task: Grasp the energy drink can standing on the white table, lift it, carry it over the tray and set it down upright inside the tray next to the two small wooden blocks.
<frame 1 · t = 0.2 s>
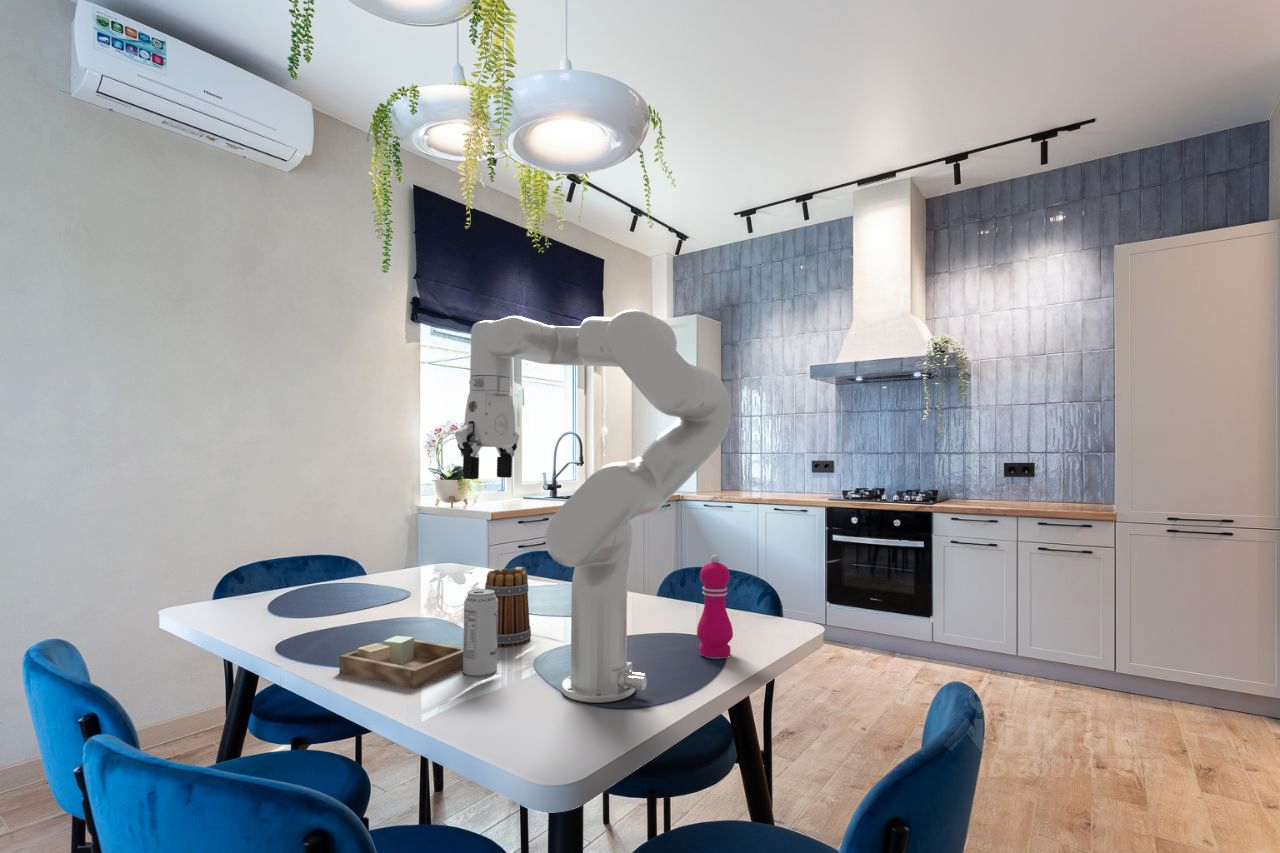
hand: (487, 478, 125), 36 cm above the table, tool pointing down, fingers open, 9 cm apart
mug: (510, 640, 143), on the table
beech block: (373, 669, 121), point 1 cm above the table, touching tray
sage block: (398, 660, 126), point 1 cm above the table, touching tray
energy drink can: (479, 676, 120), on the table
tray: (405, 672, 121), on the table
pepper mill: (714, 655, 133), on the table
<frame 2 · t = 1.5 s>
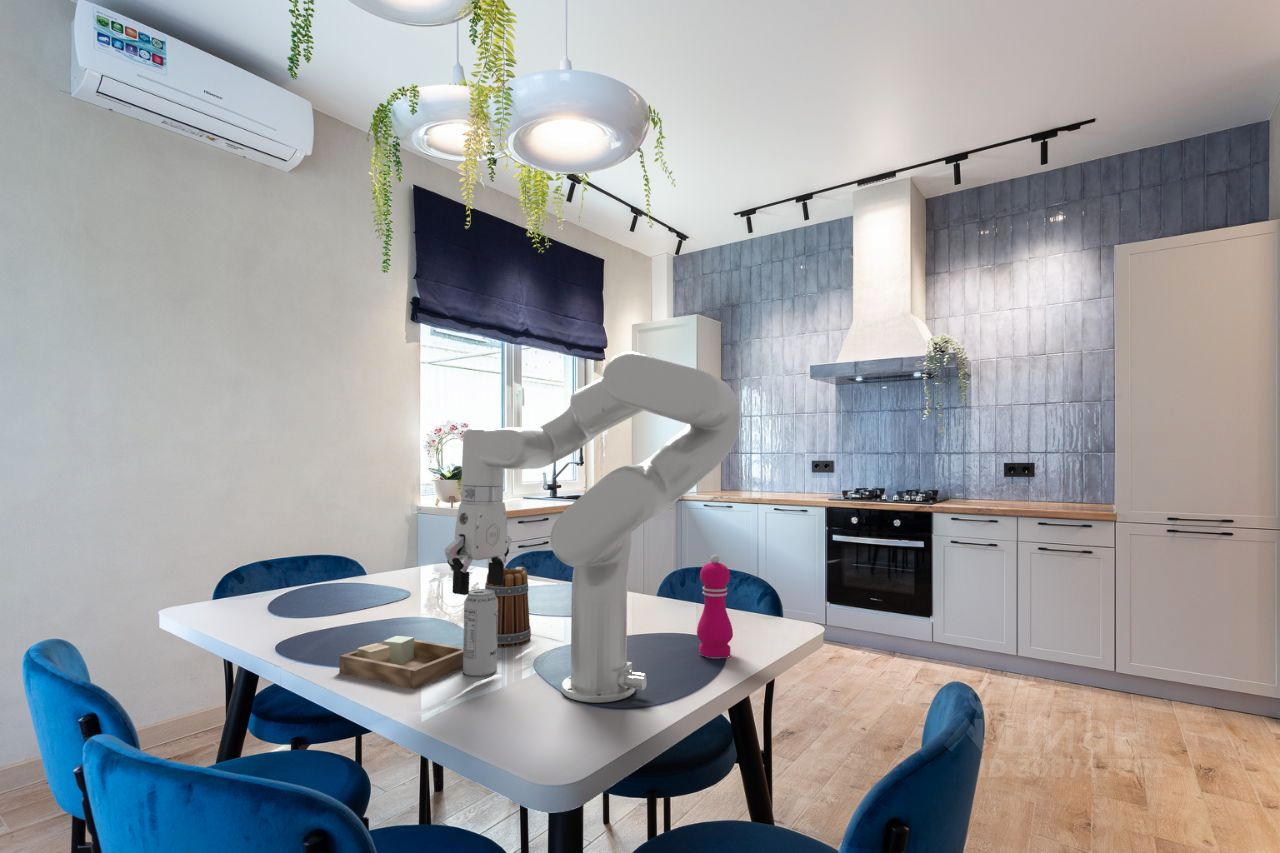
hand: (478, 589, 121), 15 cm above the table, tool pointing down, fingers open, 9 cm apart
nothing on the table moved.
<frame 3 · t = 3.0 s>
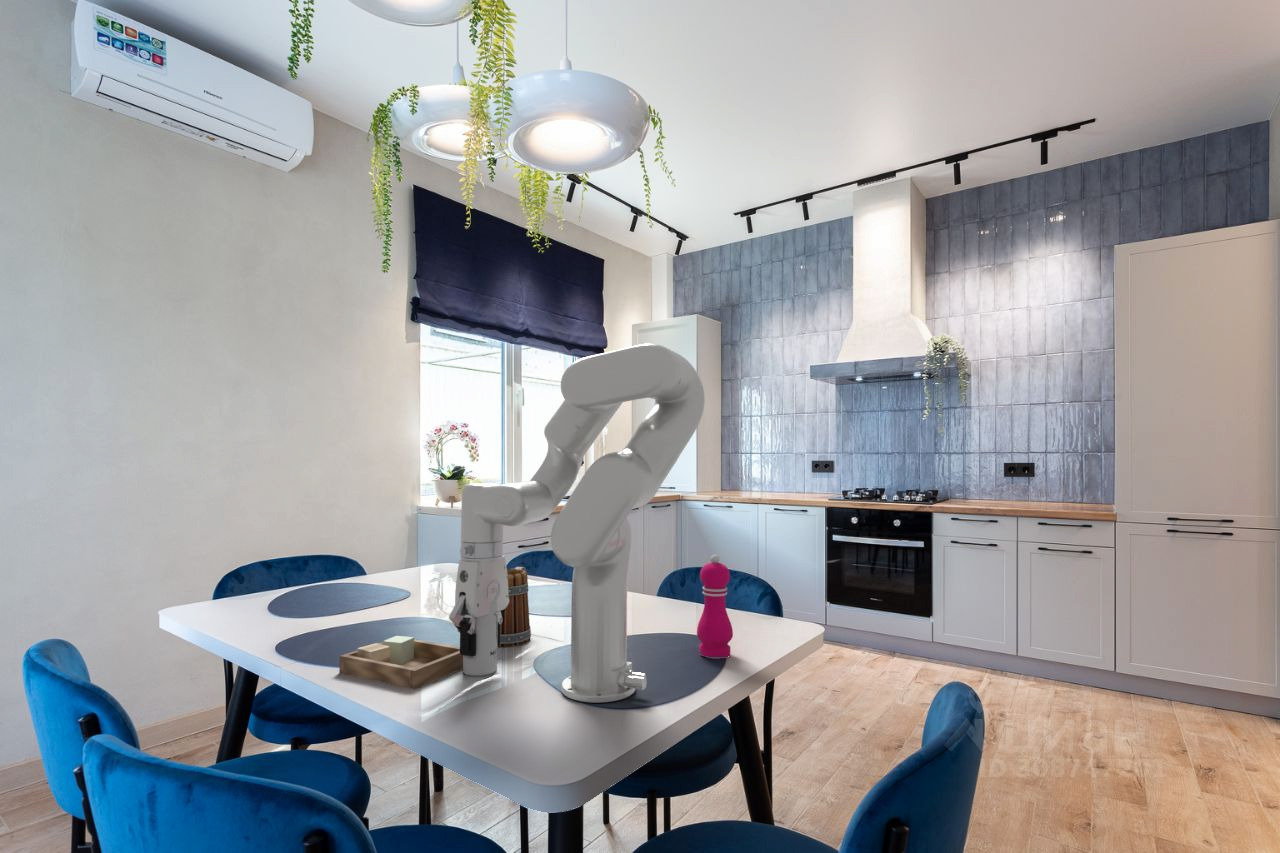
hand: (480, 649, 120), 5 cm above the table, tool pointing down, fingers closed on energy drink can, 6 cm apart
energy drink can: (479, 676, 120), on the table, touching gripper
everything else where it was.
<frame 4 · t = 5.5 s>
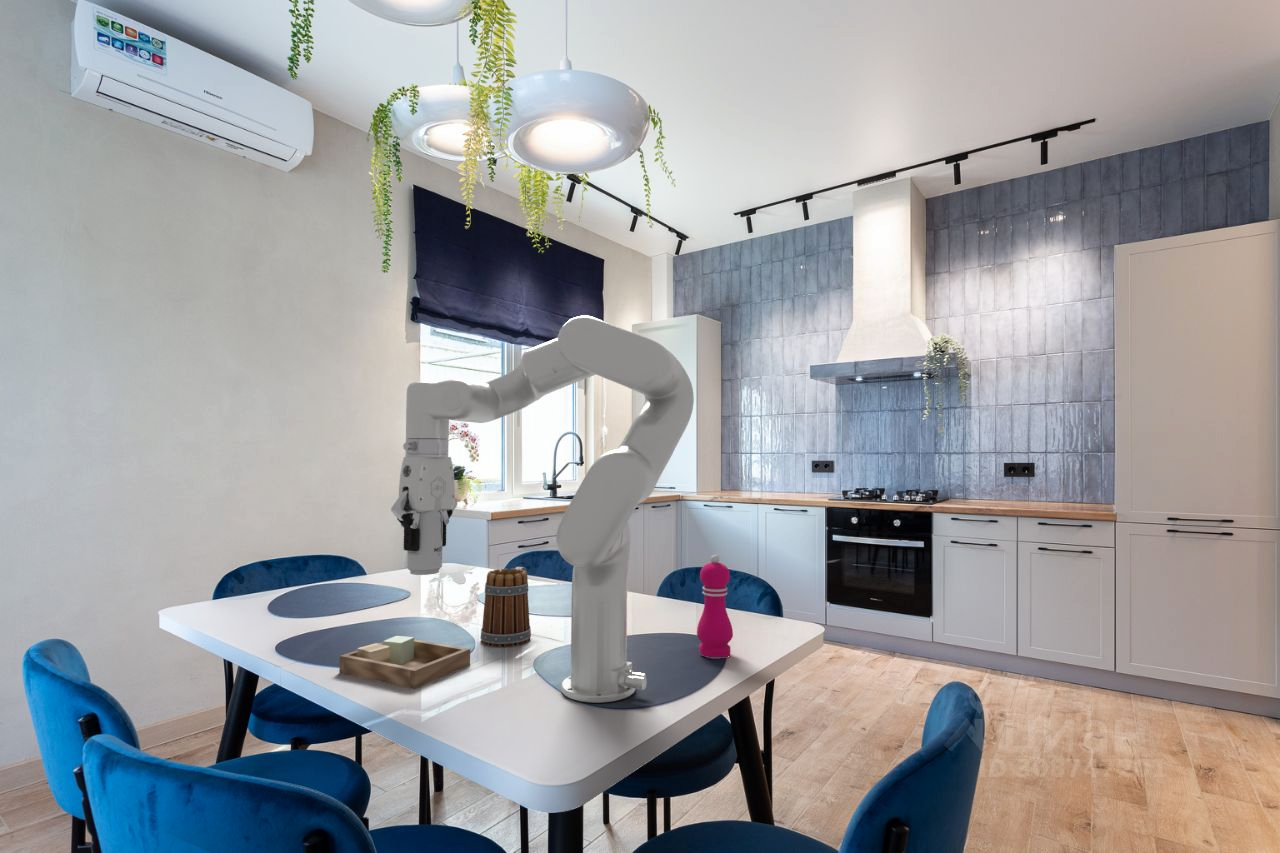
hand: (425, 547, 121), 23 cm above the table, tool pointing down, fingers closed on energy drink can, 6 cm apart
energy drink can: (424, 573, 120), point 18 cm above the table, touching gripper
everything else where it was.
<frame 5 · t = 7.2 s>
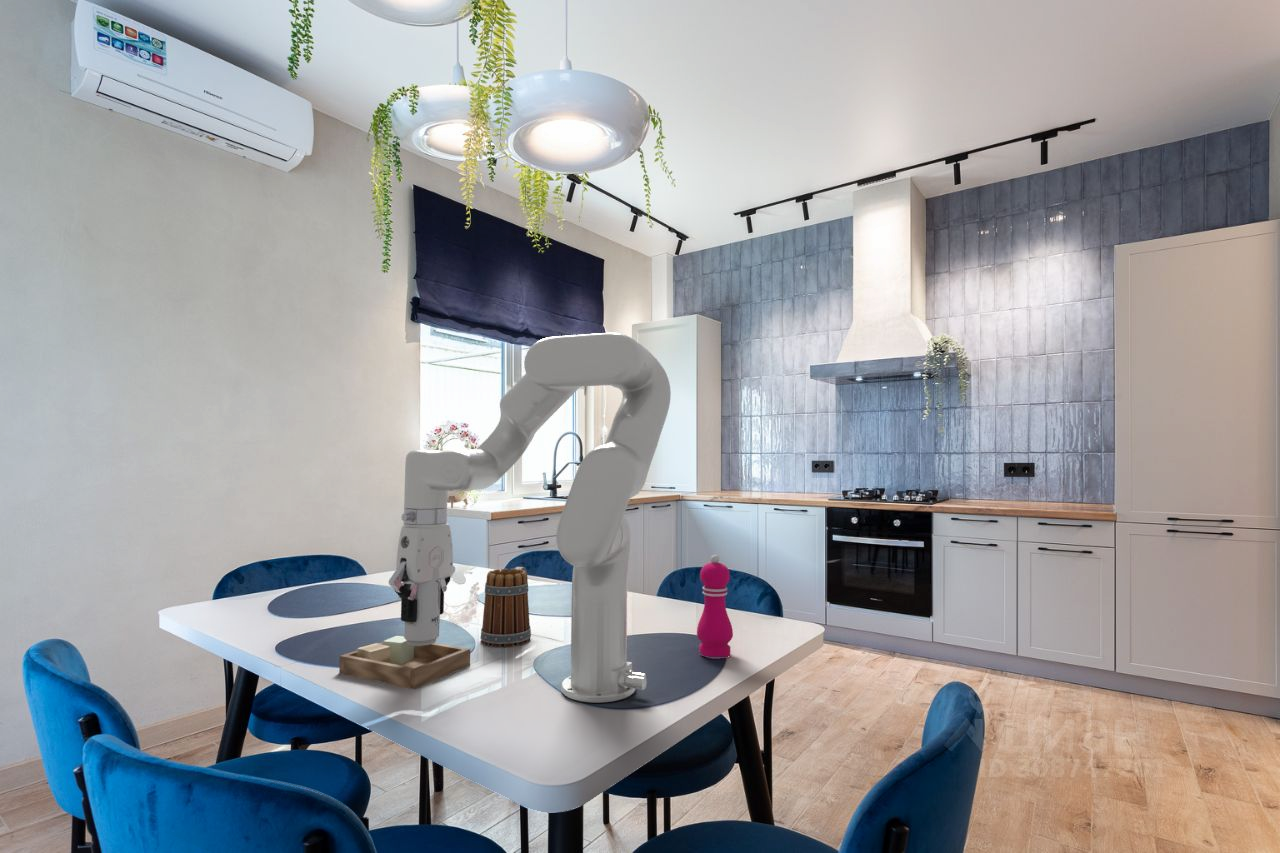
hand: (422, 616, 120), 11 cm above the table, tool pointing down, fingers closed on energy drink can, 6 cm apart
energy drink can: (421, 642, 120), point 6 cm above the table, touching gripper
everything else where it was.
when the fingers open (7 cm above the table, at t = 8.4 s): energy drink can drops 1 cm, resting on tray.
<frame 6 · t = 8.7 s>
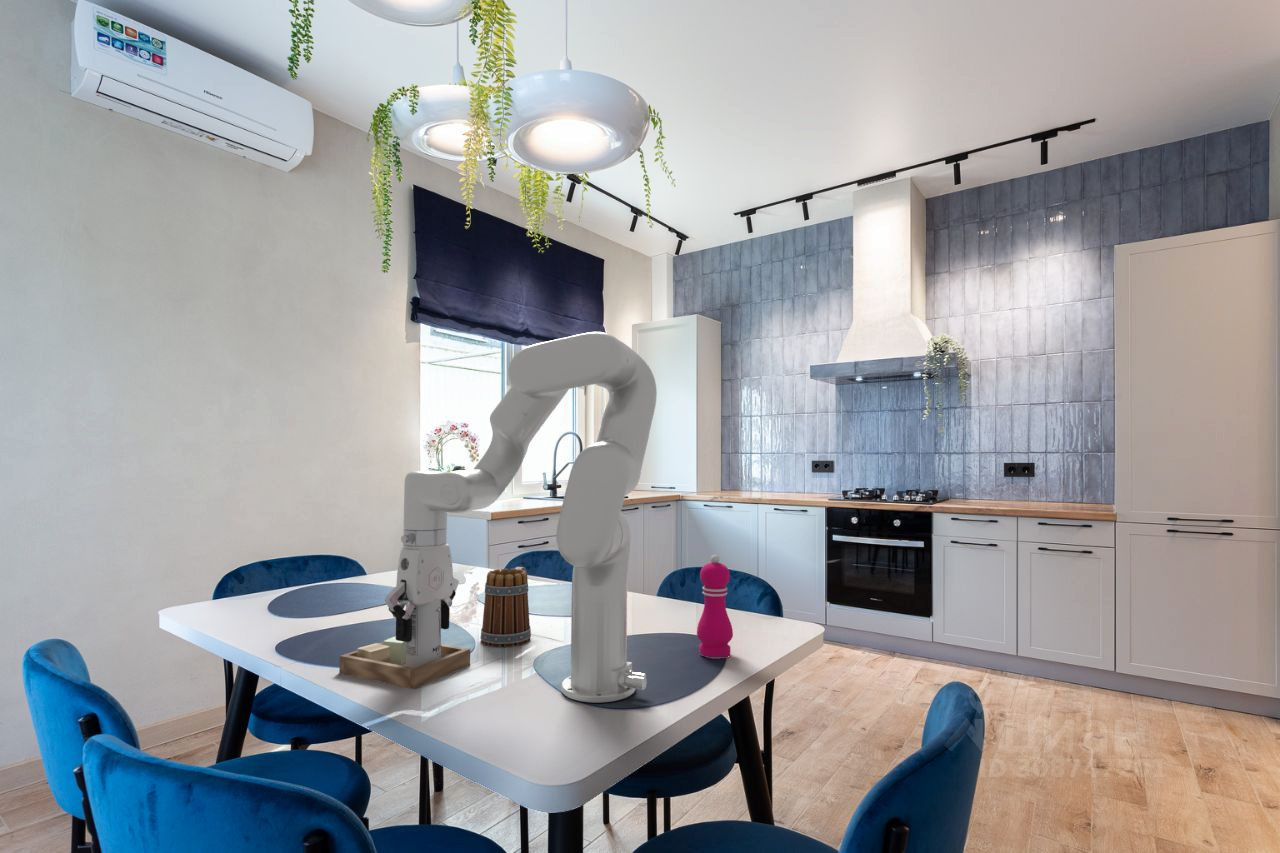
hand: (423, 634, 120), 7 cm above the table, tool pointing down, fingers open, 9 cm apart
energy drink can: (423, 672, 120), resting on tray
everything else where it was.
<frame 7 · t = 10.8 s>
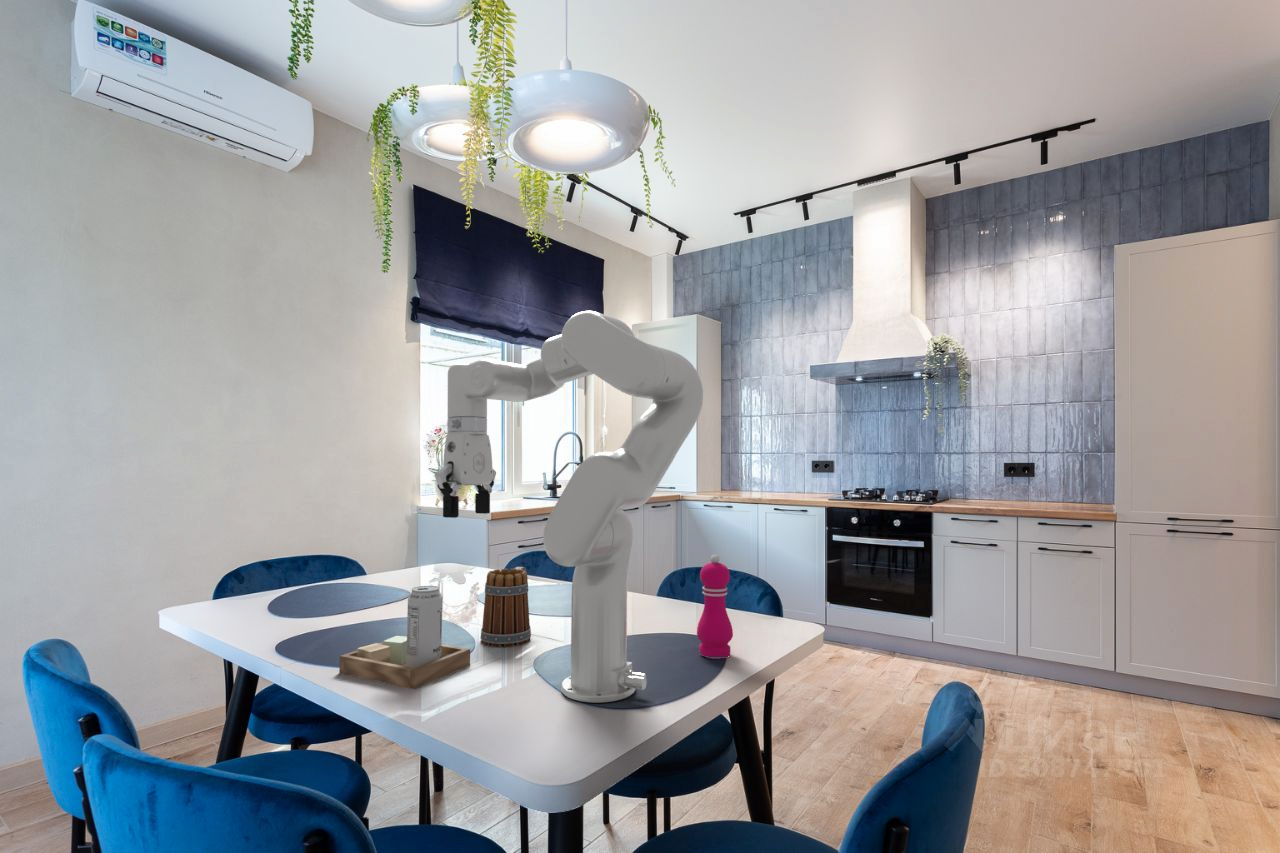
hand: (467, 515, 129), 28 cm above the table, tool pointing down, fingers open, 9 cm apart
nothing on the table moved.
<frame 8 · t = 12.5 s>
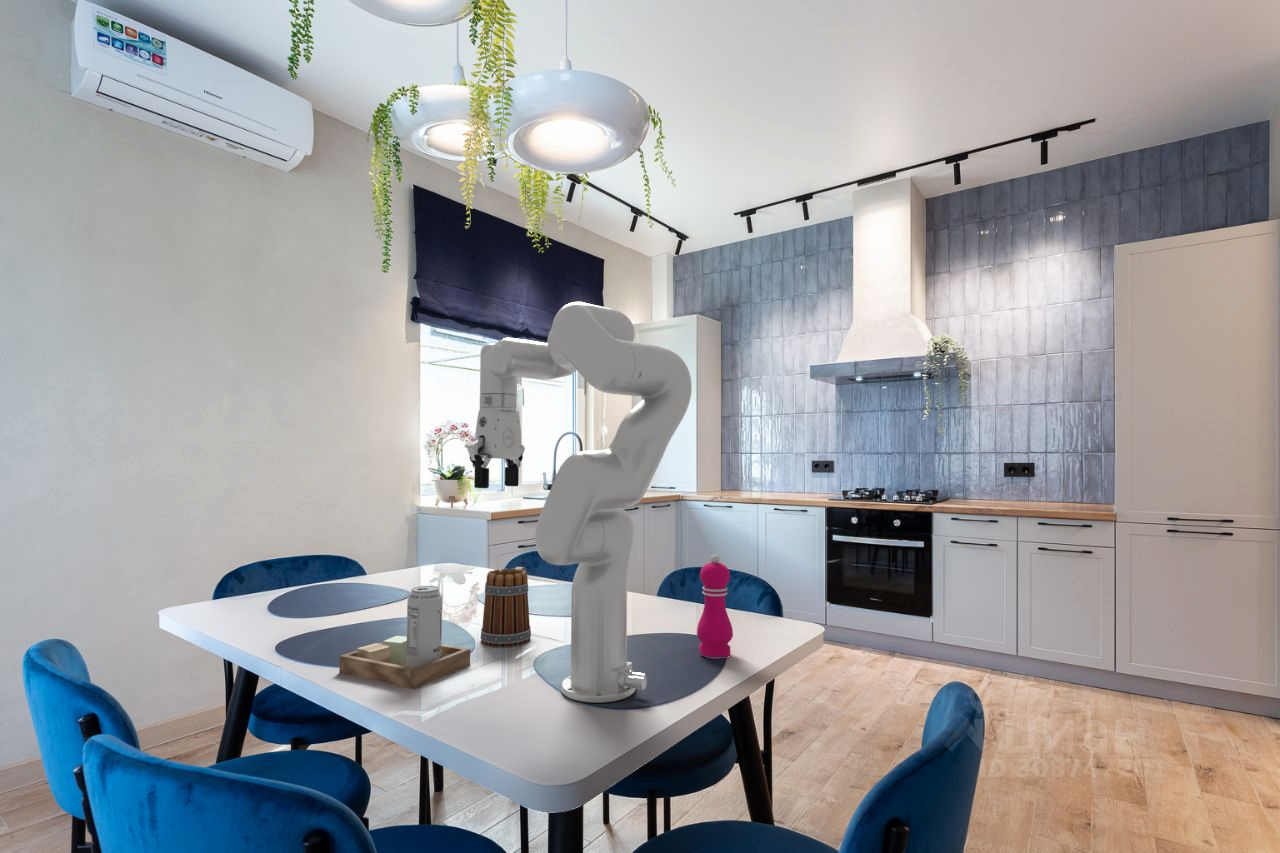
hand: (497, 487, 136), 33 cm above the table, tool pointing down, fingers open, 9 cm apart
nothing on the table moved.
at the end: energy drink can inside the target area on the tray (4.2 cm from its centre), point 0.4 cm above the tray's base; energy drink can tilted 0°; the gripper is holding nothing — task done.
